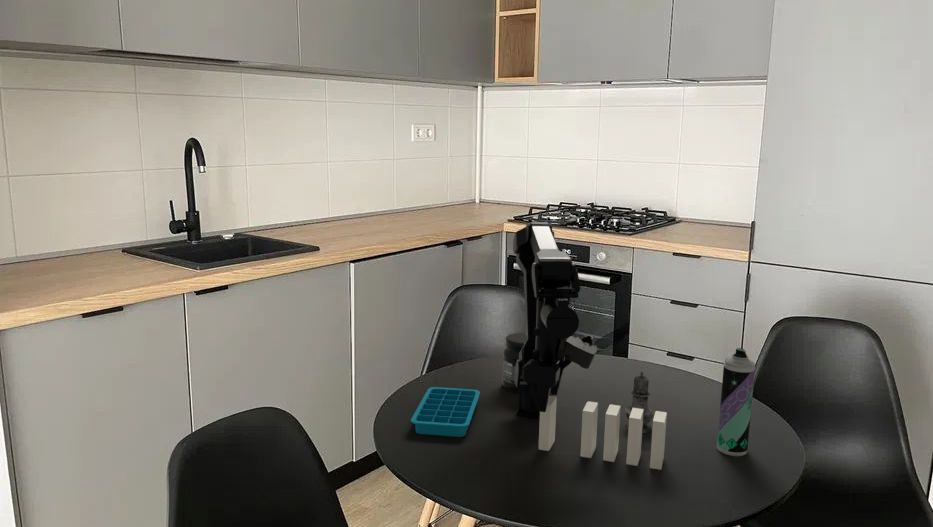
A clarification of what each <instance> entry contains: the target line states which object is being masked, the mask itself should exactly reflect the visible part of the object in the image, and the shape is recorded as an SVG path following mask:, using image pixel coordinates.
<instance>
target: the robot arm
mask: <svg viewBox="0 0 933 527" xmlns="http://www.w3.org/2000/svg"><path fill="white" fill-rule="evenodd" d="M514 233H515V234H514V236H513V239H512V240H513V242H512V251H513V254H514V255H515V260H516V265H517V266H518V268H519V269H520V271H521V272H522V274H523V286H524V287H523V288H524V289H523V290H524V317H525V318H524V319H525V320H524V321H525V322H524V323H525V333H526V342H525V343H524V345H523V347H522V349H521V351H520V352H519V360H517V362H516V366H515V370H514V381H515V384H516V387H517V388H519V393H518V403H517V405H518V406H517V410H516V411H515V415H516V416H517V415H518V416H524V417H531V418H537V419H540V412H546V409H547V404H548V400H549V396H557V395H558V393H559V389H560V385H561V382H562V378H563V376H564V371H565V369H566V368H567V367H568V366H569V365H571V364H572V363H574V364H577V365H579V367H580V368H583V369H589V368H590V367H591V365H592V363H593V361H594V359H595V356H596V354H597V352H598V350H599V349H598V346H597V345H595V337H594V336H593V335H590V334H587V333H586V334H585V335H583V337H581V338H580V337H578V336H577V337H575V336H573V335H574V334H575V333H576V332H577V330H578V328H579V326H580V319H579V317H578V314H577V312H576V311H575V310H574V309H573V307H572V306H571V303H570V302H571V299H579V293H580V291H581V285H580V279H579V278H580V277H579V276H580V275H579V270H578V268H576V264H575V262H573V260H572V258H571V257H570V255H569V254H568V253H567V252H565V251H564V252H563V251H561V250H560V249H559V247H558V245H557V242H556V240H555V231H554V230H553V225H552V223H549V222H548V221H547V222H546V221H543V222H542V221H539V222H538V221H531V222H529V223H526V225H525V227H523V228H521V229H519V230H517V231H515V232H514ZM520 377H522V378H520Z"/></svg>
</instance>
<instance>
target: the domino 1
mask: <svg viewBox="0 0 933 527" xmlns="http://www.w3.org/2000/svg"><path fill="white" fill-rule="evenodd" d="M557 397H558V396H555V395H553V396H549V400H548V404H547V409H546V412H540V418H539V424H538V425H539V426H538V427H539V428H538V429H539V431H538V432H539V433H538V450H541V451H546V452H549V451H550V450H551V448H552V447H553V445H554V443H555V441H556V425H557V423H556V420H557V401H558V398H557Z"/></svg>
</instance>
